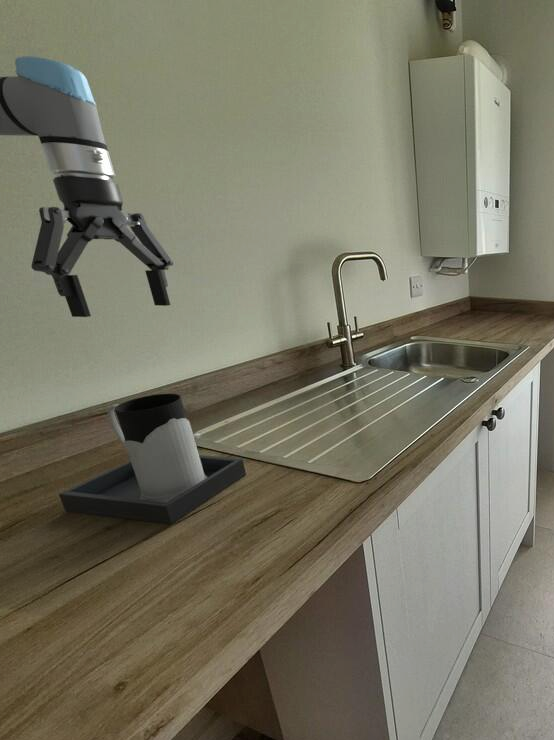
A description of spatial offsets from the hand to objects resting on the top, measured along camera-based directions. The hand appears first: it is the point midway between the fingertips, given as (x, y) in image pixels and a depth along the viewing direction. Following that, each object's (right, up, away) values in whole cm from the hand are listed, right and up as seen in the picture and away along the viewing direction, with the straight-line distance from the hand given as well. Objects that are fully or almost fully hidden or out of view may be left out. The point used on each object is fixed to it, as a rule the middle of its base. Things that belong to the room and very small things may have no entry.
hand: (125, 310), depth 73 cm
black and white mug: (+13, -30, -7) cm, 33 cm away
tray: (+13, -30, -7) cm, 34 cm away
